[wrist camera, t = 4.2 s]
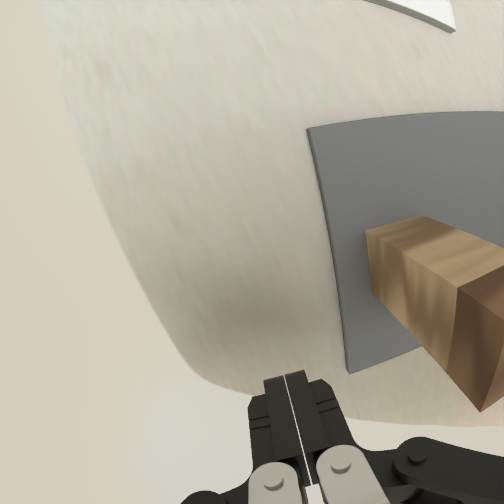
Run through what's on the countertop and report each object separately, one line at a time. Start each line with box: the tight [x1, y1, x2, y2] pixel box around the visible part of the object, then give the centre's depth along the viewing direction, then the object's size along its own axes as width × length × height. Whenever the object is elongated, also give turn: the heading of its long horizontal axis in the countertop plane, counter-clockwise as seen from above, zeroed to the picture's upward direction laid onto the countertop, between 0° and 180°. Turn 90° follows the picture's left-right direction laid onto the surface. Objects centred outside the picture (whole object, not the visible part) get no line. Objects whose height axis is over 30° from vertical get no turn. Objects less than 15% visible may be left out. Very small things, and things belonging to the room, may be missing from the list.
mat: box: [307, 112, 504, 374], centre depth 19 cm, size 18×24×1 cm
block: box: [365, 215, 504, 412], centre depth 13 cm, size 4×4×12 cm
